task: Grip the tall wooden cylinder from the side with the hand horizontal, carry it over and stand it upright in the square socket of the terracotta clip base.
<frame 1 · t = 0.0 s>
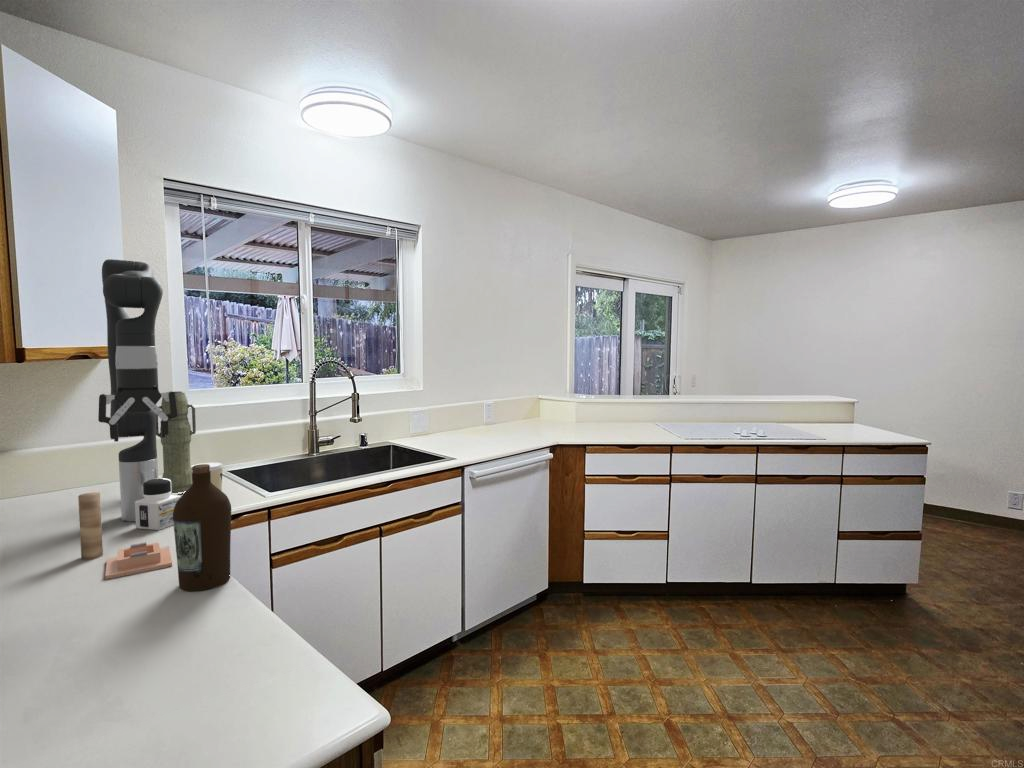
hand: (140, 439, 117), 29 cm above the countertop, tool pointing down, fingers open, 8 cm apart
thermos: (177, 492, 183), on the countertop
container: (159, 525, 148), on the countertop
clip base: (139, 563, 121), on the countertop
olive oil: (204, 583, 111), on the countertop
coffee cup: (207, 501, 172), on the countertop
tall wooden cylinder: (92, 556, 125), on the countertop
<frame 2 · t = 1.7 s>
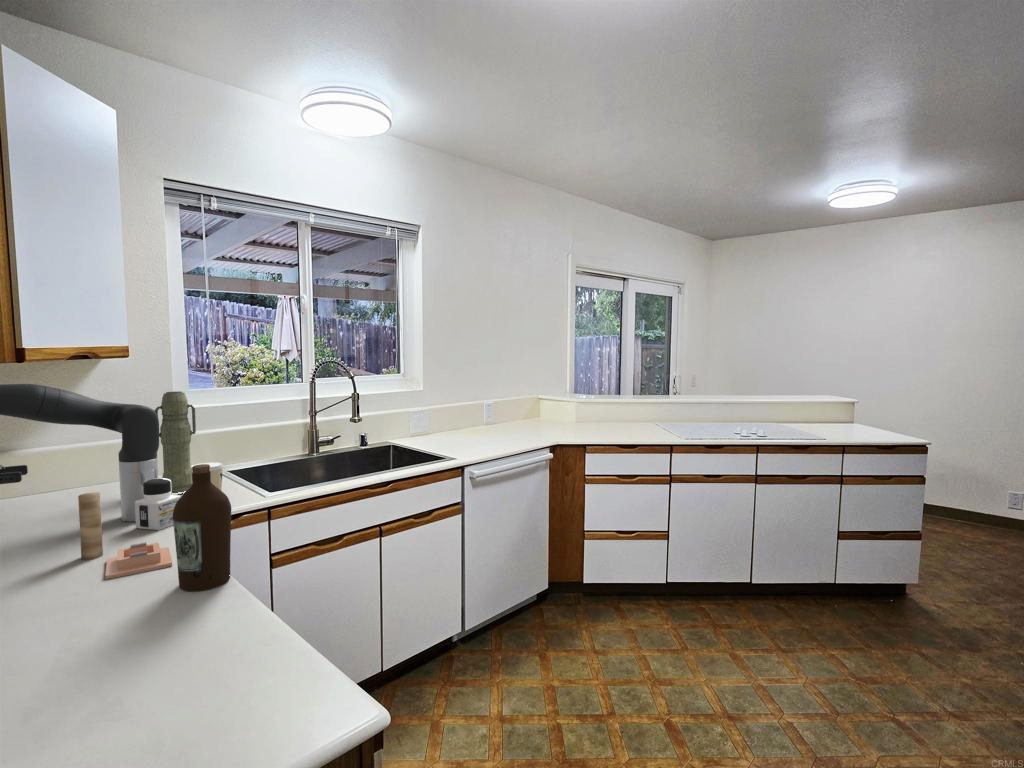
hand: (24, 473, 117), 22 cm above the countertop, tool horizontal, fingers open, 8 cm apart
nothing on the countertop moved.
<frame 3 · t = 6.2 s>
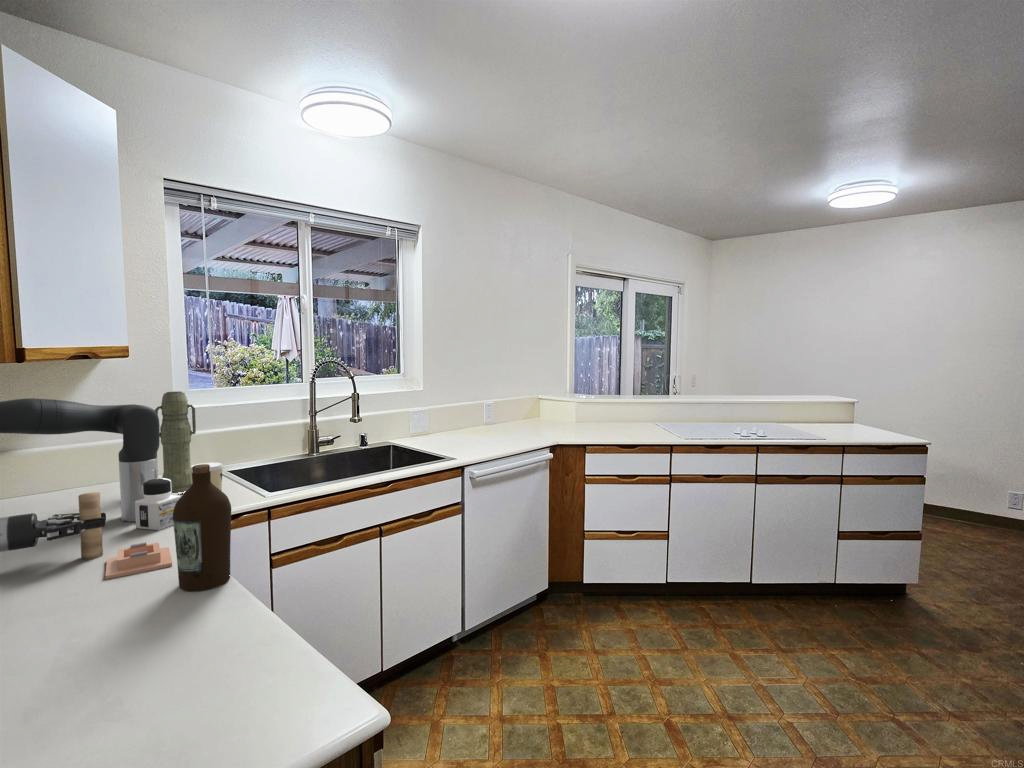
hand: (105, 519, 126), 9 cm above the countertop, tool horizontal, fingers closed on tall wooden cylinder, 4 cm apart
tall wooden cylinder: (92, 556, 125), on the countertop, touching gripper
everything else where it was.
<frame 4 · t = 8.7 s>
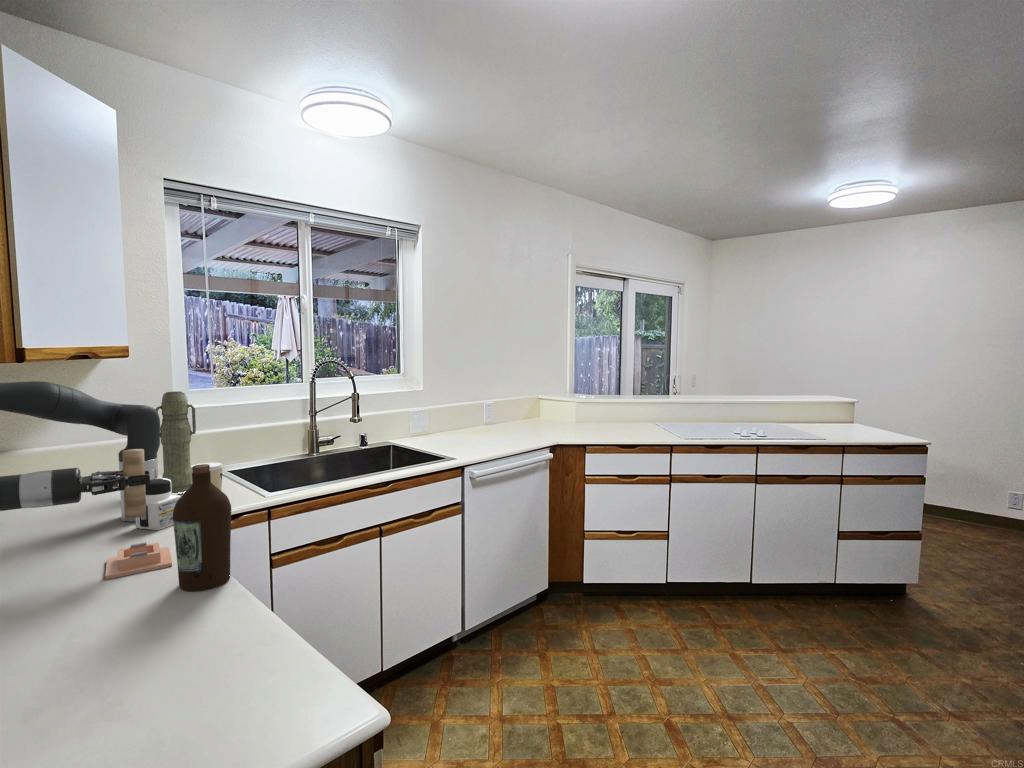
hand: (149, 477, 121), 20 cm above the countertop, tool horizontal, fingers closed on tall wooden cylinder, 4 cm apart
tall wooden cylinder: (135, 515, 120), point 11 cm above the countertop, touching gripper
everything else where it was.
when the fingers open (10 cm above the countertop, at t = 11.3 s): tall wooden cylinder stays where it is, resting on clip base.
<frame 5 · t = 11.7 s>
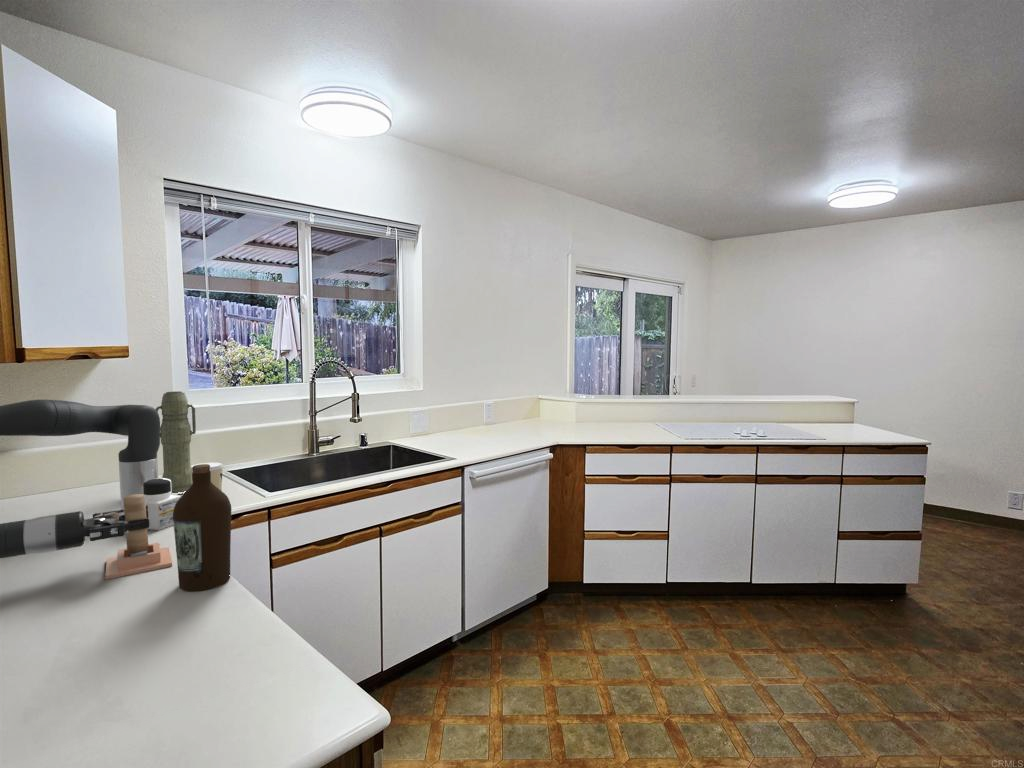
hand: (148, 518, 122), 10 cm above the countertop, tool horizontal, fingers open, 7 cm apart
tall wooden cylinder: (138, 560, 121), point 1 cm above the countertop, touching clip base
everything else where it was.
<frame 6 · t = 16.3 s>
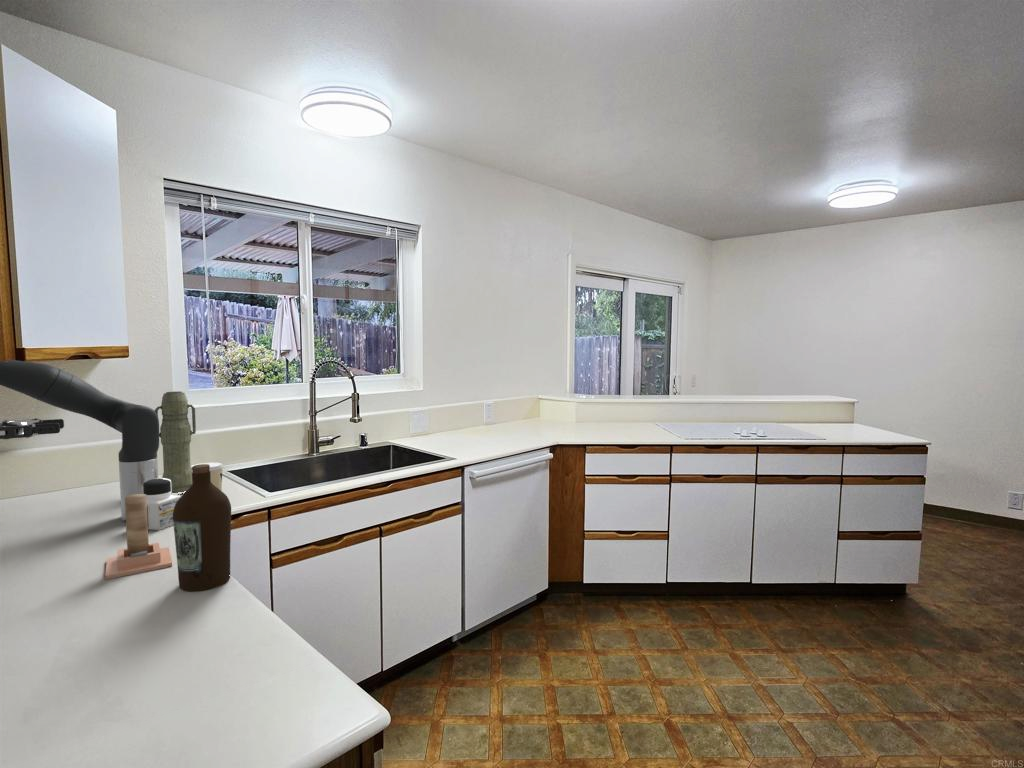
hand: (61, 425, 119), 32 cm above the countertop, tool horizontal, fingers open, 8 cm apart
nothing on the countertop moved.
at the end: tall wooden cylinder 0.1 cm off-centre on the clip base, point 0.8 cm above the clip base's base; tall wooden cylinder tilted 1°; the gripper is holding nothing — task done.
